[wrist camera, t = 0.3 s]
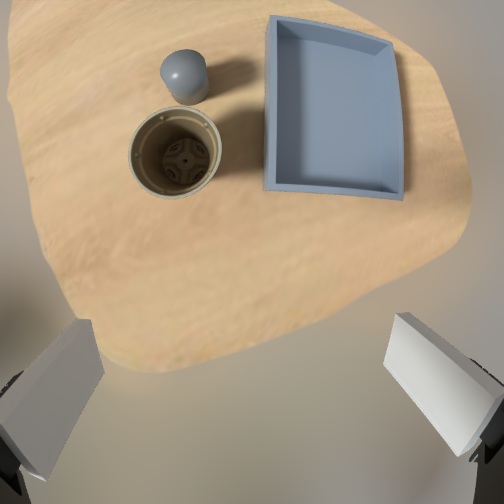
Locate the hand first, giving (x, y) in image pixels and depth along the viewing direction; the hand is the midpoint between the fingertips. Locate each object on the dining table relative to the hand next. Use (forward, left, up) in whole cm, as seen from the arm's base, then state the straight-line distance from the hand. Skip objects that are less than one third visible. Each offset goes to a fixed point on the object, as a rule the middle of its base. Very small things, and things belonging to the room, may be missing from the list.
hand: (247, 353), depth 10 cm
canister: (-20, -6, -26) cm, 33 cm away
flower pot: (-10, -6, -26) cm, 29 cm away
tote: (-18, +12, -26) cm, 34 cm away
